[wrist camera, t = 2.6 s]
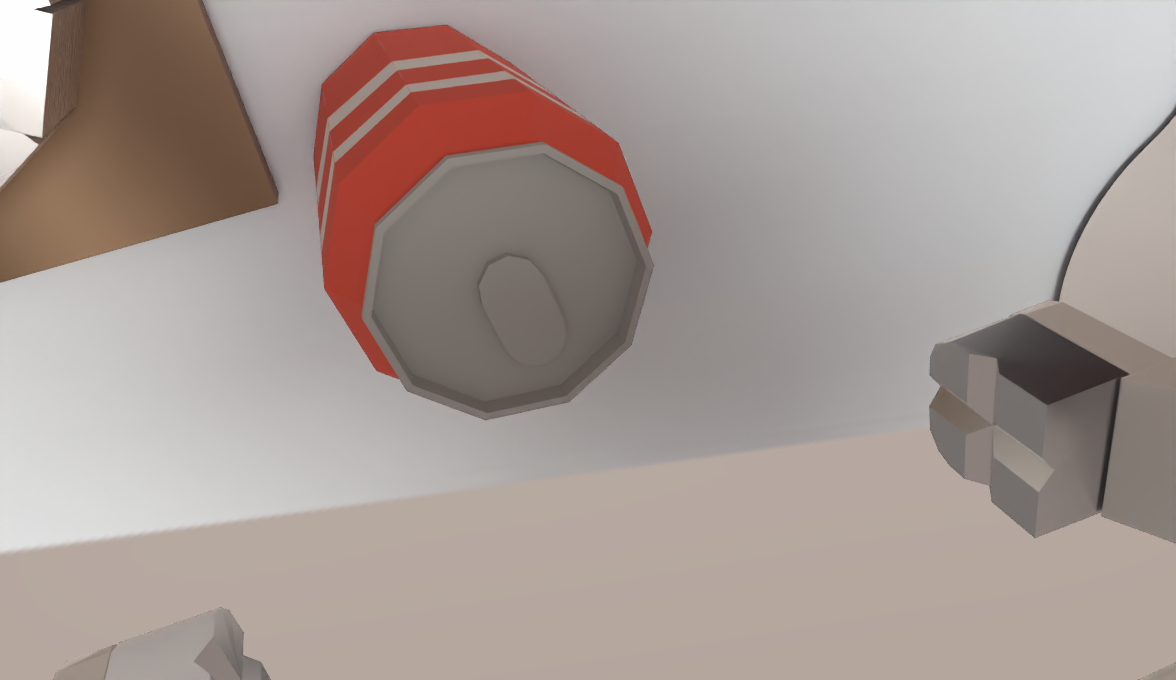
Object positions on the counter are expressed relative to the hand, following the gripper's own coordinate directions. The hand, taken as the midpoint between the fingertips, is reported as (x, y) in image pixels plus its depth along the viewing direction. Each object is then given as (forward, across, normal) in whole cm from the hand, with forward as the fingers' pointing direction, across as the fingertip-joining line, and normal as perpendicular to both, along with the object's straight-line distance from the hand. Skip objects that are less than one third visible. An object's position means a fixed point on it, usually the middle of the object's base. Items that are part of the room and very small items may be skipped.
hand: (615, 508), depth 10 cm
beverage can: (+19, 0, 0) cm, 19 cm away
